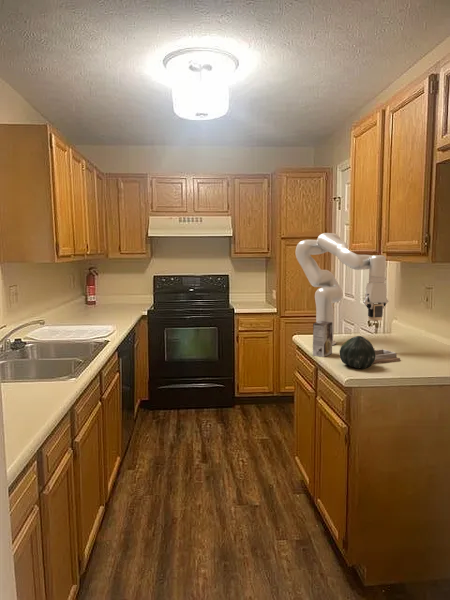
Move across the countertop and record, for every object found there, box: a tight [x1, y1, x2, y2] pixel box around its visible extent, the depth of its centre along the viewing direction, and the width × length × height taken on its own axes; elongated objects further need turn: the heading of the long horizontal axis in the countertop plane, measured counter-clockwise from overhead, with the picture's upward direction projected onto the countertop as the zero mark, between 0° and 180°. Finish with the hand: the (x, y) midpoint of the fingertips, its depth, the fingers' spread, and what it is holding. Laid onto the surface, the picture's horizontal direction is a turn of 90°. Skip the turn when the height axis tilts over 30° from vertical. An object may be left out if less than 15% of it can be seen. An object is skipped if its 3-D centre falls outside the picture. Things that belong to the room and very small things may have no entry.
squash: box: [339, 335, 375, 370], centre depth 188 cm, size 14×15×15 cm
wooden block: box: [368, 303, 383, 322], centre depth 213 cm, size 4×5×8 cm
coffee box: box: [312, 321, 333, 358], centre depth 211 cm, size 9×6×16 cm
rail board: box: [372, 347, 401, 365], centre depth 201 cm, size 13×16×6 cm
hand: (375, 316), depth 214 cm, fingers closed on wooden block, 4 cm apart
